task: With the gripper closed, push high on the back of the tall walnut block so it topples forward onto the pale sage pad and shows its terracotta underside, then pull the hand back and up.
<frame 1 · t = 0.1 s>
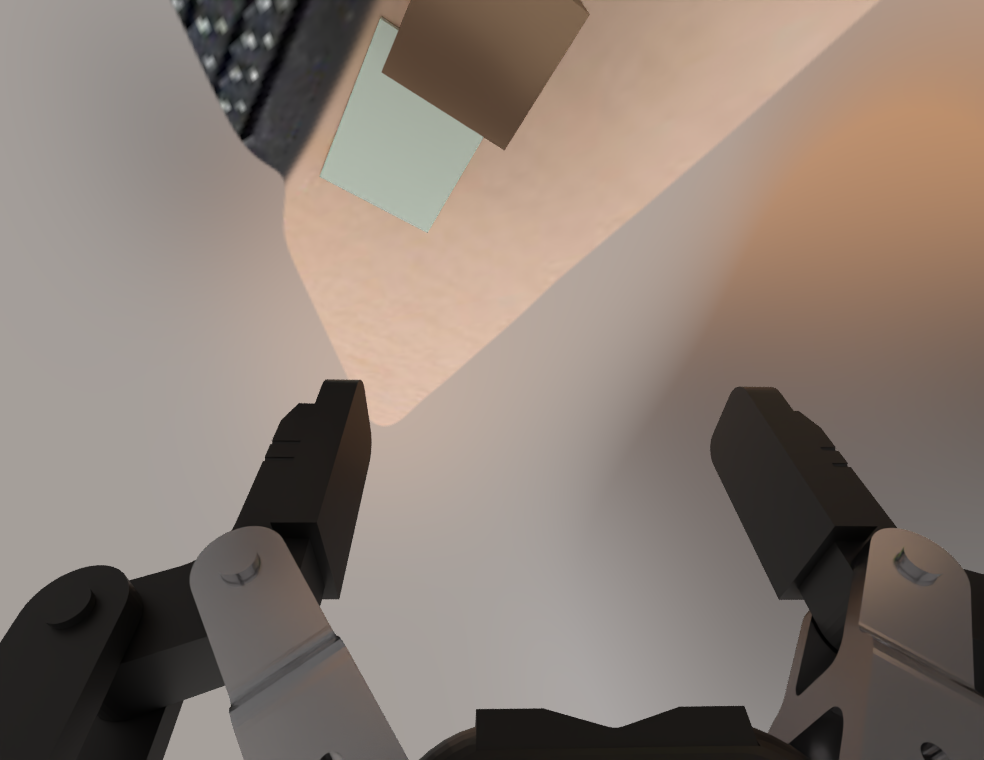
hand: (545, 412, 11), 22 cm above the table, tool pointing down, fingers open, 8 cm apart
sage pad: (407, 138, 28), on the table
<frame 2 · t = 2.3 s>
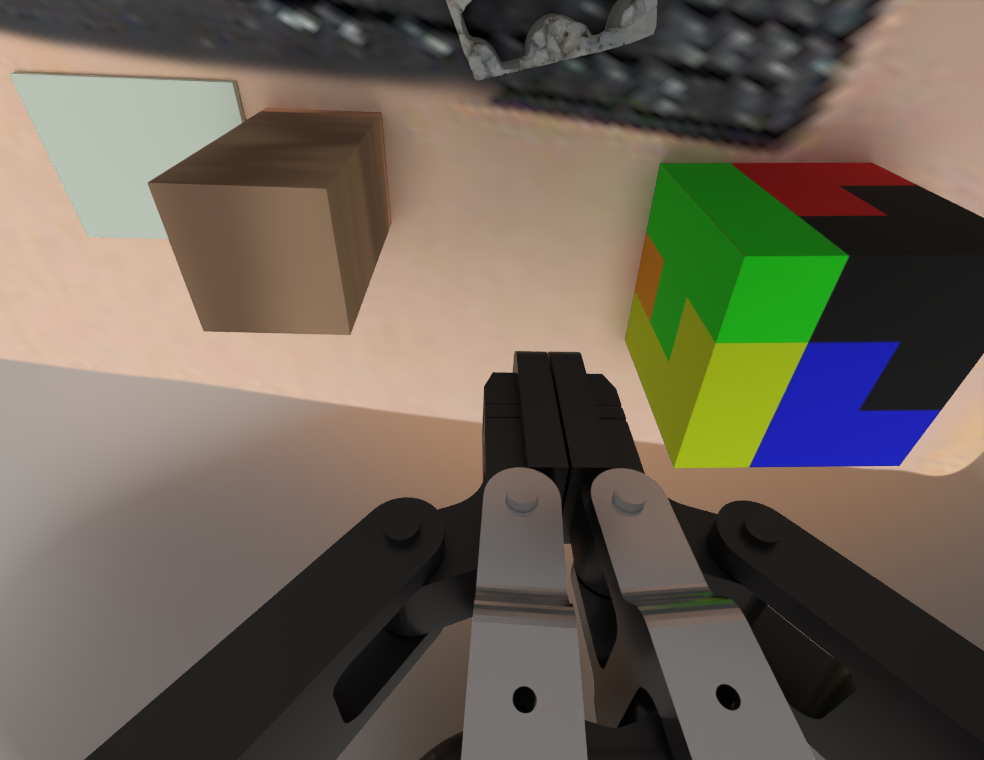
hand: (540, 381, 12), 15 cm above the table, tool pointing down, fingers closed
sage pad: (157, 163, 23), on the table
puzzle toy: (732, 259, 27), on the table
walnut block: (332, 169, 24), on the table
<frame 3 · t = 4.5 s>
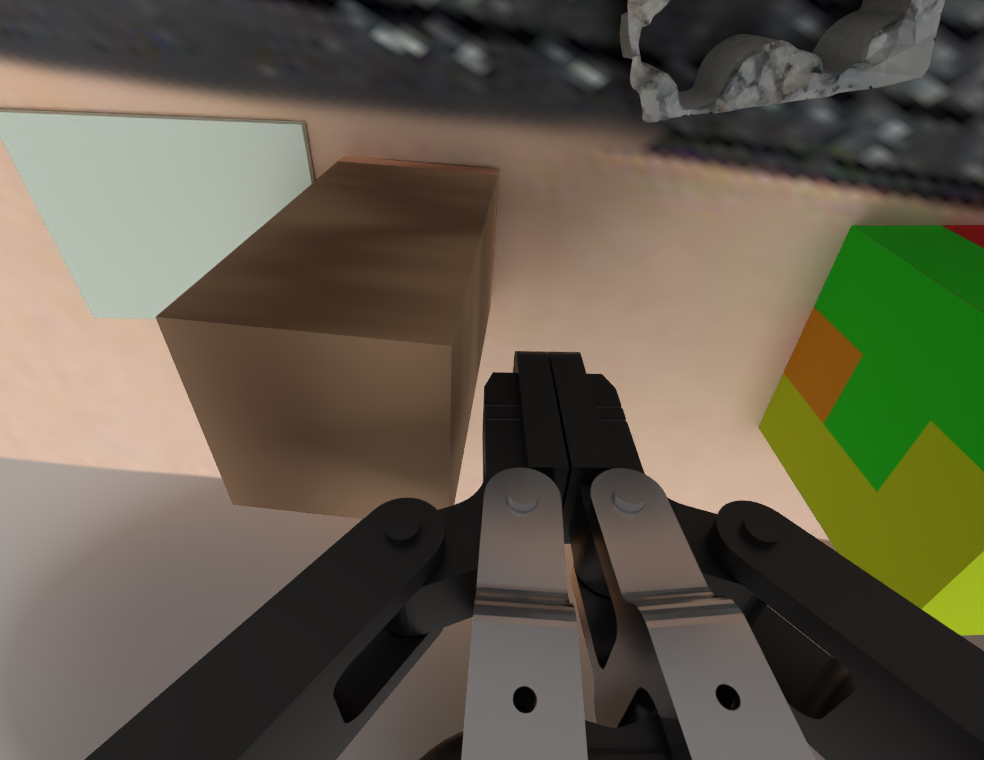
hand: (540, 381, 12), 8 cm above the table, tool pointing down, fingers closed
sage pad: (190, 227, 17), on the table
puzzle toy: (909, 336, 22), on the table
walnut block: (423, 237, 18), on the table, tilted 7°, touching gripper
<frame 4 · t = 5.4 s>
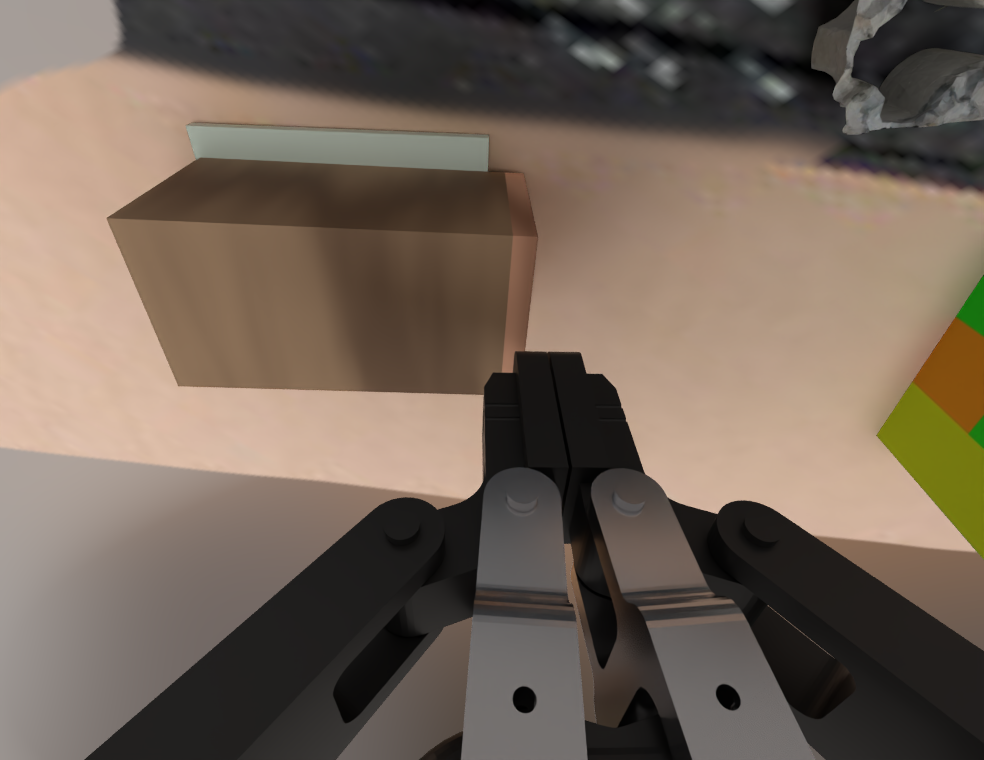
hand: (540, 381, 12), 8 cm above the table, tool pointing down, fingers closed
sage pad: (356, 238, 18), on the table
walnut block: (521, 281, 16), point 3 cm above the table, tilted 90°, touching sage pad
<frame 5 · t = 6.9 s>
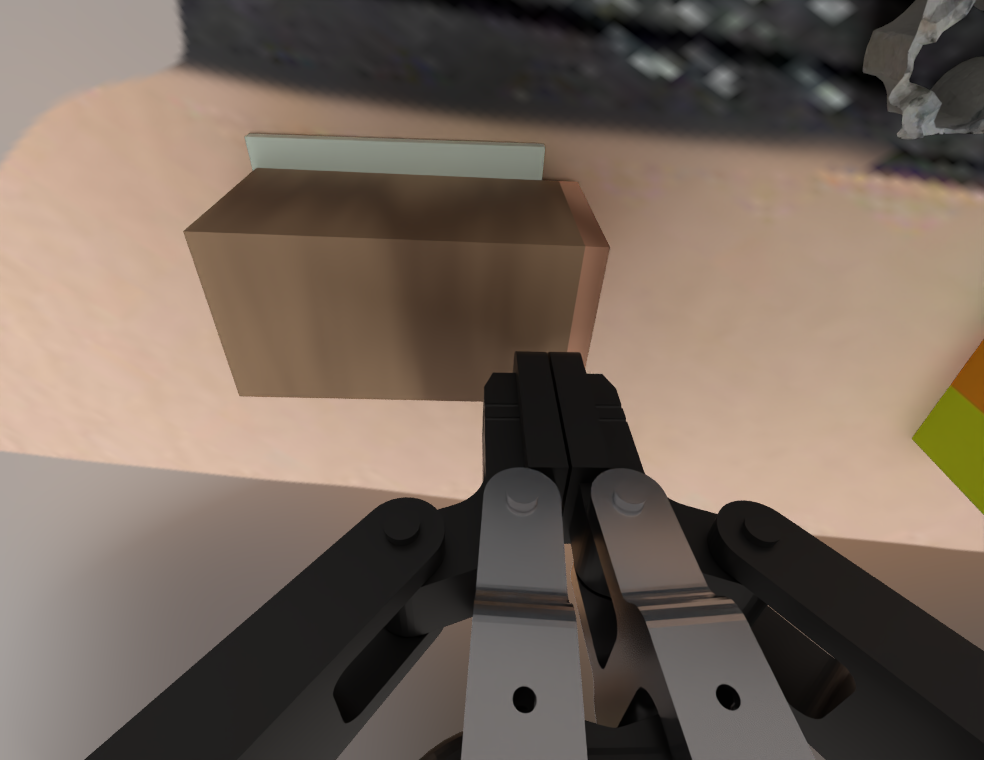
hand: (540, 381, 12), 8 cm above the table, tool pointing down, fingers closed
sage pad: (405, 246, 18), on the table
walnut block: (577, 289, 16), point 3 cm above the table, tilted 90°, touching sage pad
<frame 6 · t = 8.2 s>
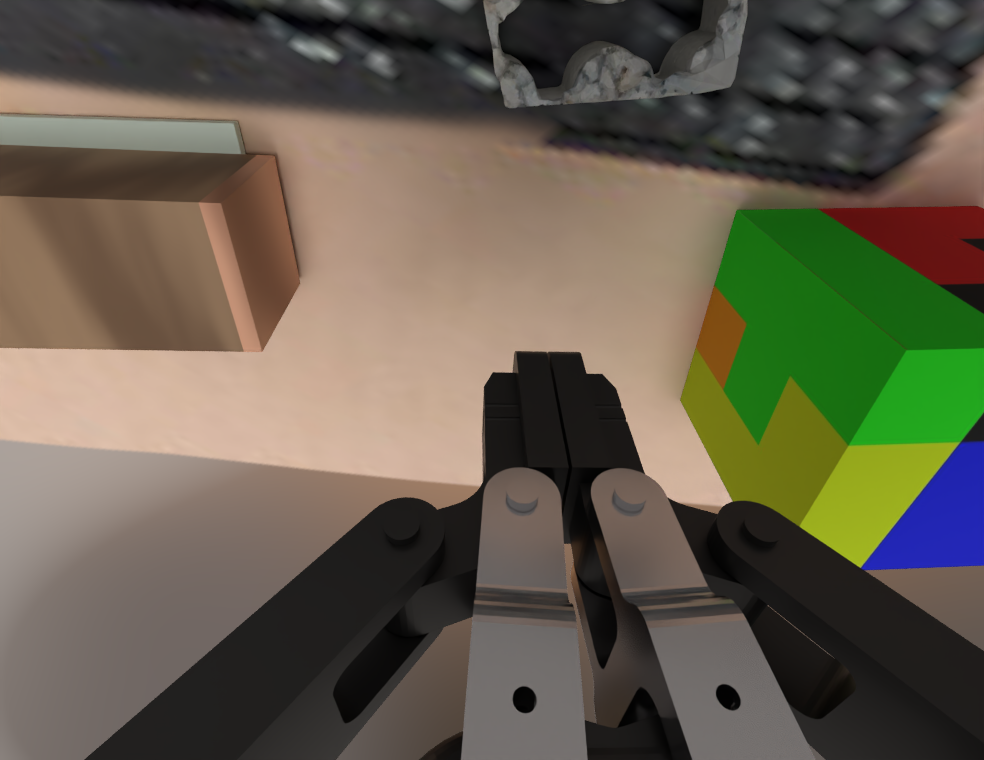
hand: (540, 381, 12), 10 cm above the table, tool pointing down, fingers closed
sage pad: (142, 217, 20), on the table
puzzle toy: (807, 312, 24), on the table
walnut block: (268, 251, 18), point 3 cm above the table, tilted 90°, touching sage pad
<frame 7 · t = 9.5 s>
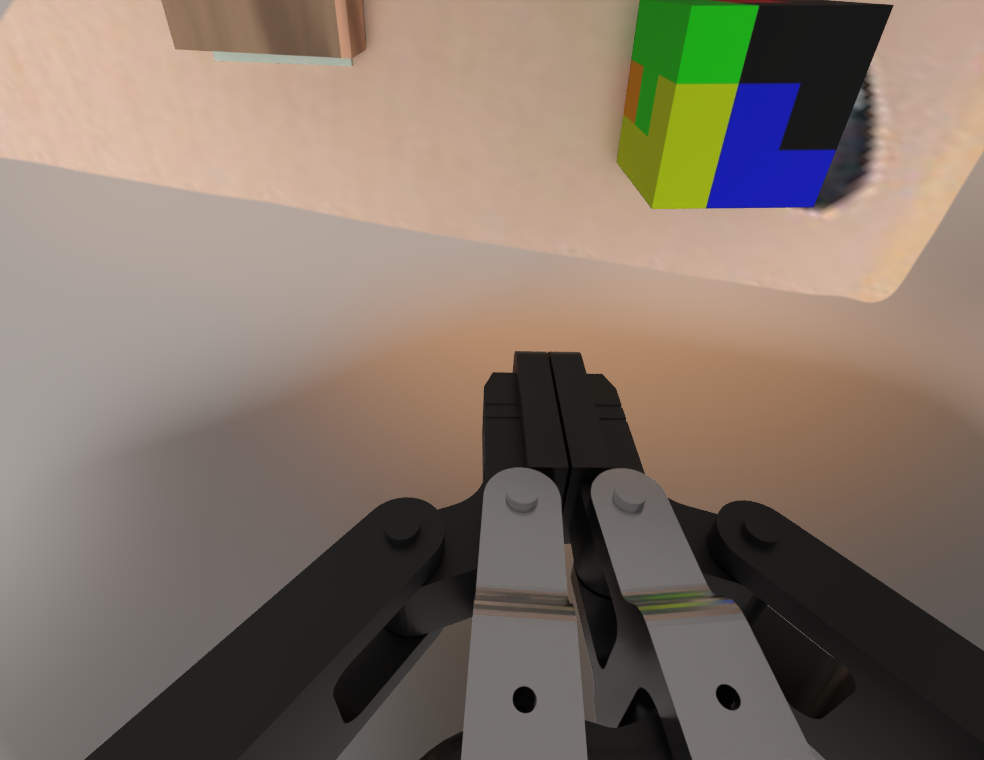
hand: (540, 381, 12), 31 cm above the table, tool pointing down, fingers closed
puzzle toy: (696, 86, 36), on the table
walnut block: (354, 3, 30), point 3 cm above the table, tilted 90°, touching sage pad
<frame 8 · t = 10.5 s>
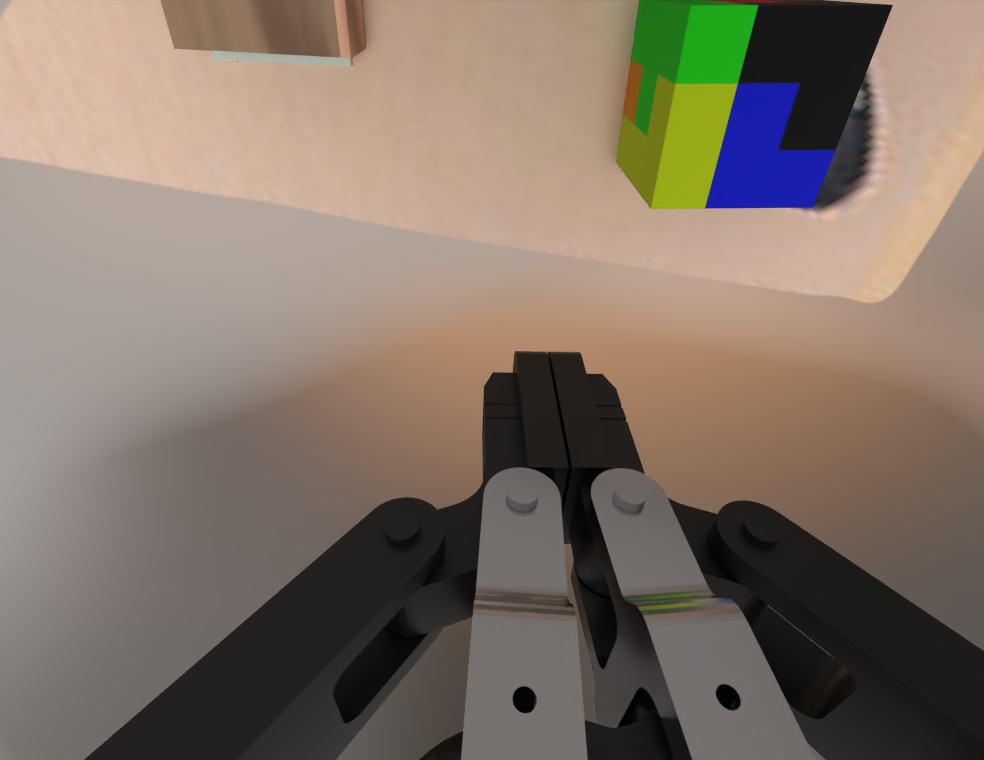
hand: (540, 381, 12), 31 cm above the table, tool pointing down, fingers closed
puzzle toy: (696, 86, 36), on the table
walnut block: (353, 3, 30), point 3 cm above the table, tilted 90°, touching sage pad
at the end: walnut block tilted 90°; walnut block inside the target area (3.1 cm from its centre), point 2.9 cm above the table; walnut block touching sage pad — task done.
